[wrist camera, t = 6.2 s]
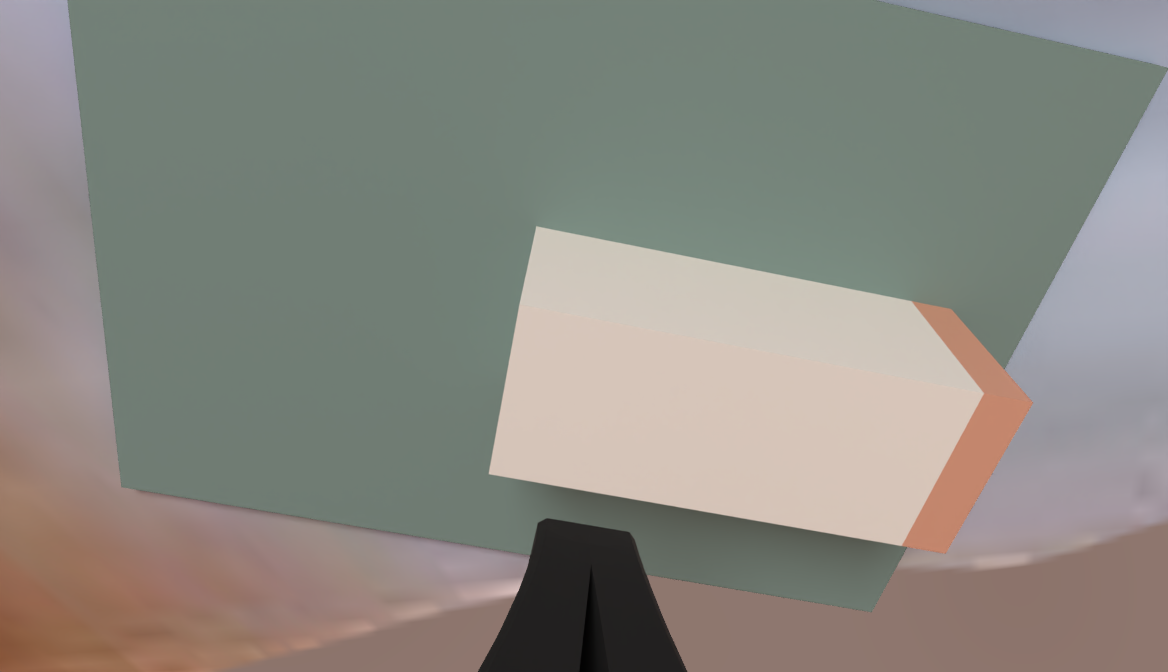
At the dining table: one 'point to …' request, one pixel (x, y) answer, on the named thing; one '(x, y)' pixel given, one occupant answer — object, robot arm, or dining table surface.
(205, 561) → the dining table surface
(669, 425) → the cream block
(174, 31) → the green mat
